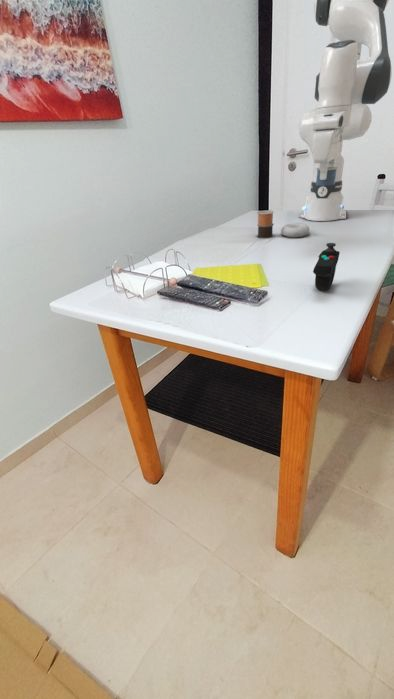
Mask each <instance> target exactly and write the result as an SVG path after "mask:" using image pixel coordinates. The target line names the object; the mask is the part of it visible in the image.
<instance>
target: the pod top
mask: <svg viewBox="0 0 394 699" xmlns="http://www.w3.org/2000/svg"><path fill="white" fill-rule="evenodd" d="M337 169H338V167H328V171H327V172H328V175H327V179H325V180H320V168H317V169H316V170H317V179H316V185H318V186H328V185H334V184H335V178H336V170H337Z"/></svg>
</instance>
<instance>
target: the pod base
mask: <svg viewBox="0 0 394 699" xmlns="http://www.w3.org/2000/svg"><path fill="white" fill-rule="evenodd" d="M274 224H275V223H273V222H272V225H269V226H260V225H258V224H257V237H258V238H260V239H268V238H272V237H273V229H274V228H273V226H274Z"/></svg>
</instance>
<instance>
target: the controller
mask: <svg viewBox="0 0 394 699" xmlns="http://www.w3.org/2000/svg"><path fill="white" fill-rule="evenodd" d="M325 246H326V247H327V248H326V249H324V250H322V251H321V252H320V254H319V255H318V259H317V261H316V263H315V265H314V268H313V270H312V273H313V274H314V275H315V277H314V283H315V284H314V286H315V288H316V289H317V290H318V291H330V290H331V289H332V286H333V284H334V283H333V282H334V278H335V275H336V270H337V265H338V261H339V257H340V253H341V252H340V251H338V250H336V249H335V248H334V247H336V246H337V244H336V243H335V242H327V243H326V244H325Z"/></svg>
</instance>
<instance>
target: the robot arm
mask: <svg viewBox="0 0 394 699" xmlns="http://www.w3.org/2000/svg"><path fill="white" fill-rule="evenodd" d="M389 2H390V0H314V3H313V14H314V19H315V22H316V23H317V26H320V27H329V31H330V33H331V34H330V39H329V43H328V44H327V45H326V46H325V48H324V50H323V55H322V59H321V65H320V70H319V73H318V74H316V76H315V88H314V99H315V100H316V102H317V104H316V106H315V107H316V108H314V109H311V110H309V111H306V112H304V114H303V115H302V117H301V118H300V121H299V125H298V133H299V136H300V139H301V140H302V141H303V142H305V144H306V145H308V147H309V149H310V152H311V154H312V160H313V171H312V172H313V173H312V181H311V183H310V193H309V194H308V195H307V196H306V198H305V205H304V206H302V208H301V209H302V211H303V210H304V211H303V213H301V214H300V216H299V217H300V218H302V219H306V220H308V221H315V222H328V221H329V222H330V221H331V222H332V221H337V220H344V219H347V210H346V209H345V205H343V202H344V195H343V194H342V190H343V180H342V178H343V172H344V166H345V165H344V164H345V160H344V157H343V155H342V151H343V142H344V141H351V140H353V139H354V140H355V139H359V138H361V137H363V136H365V134H366V133H367V132H368V130H369V128H370V126H371V124H372V119H373V118H372V117H373V116H372V111H371V109H370V107H369V105H375V104H376V103H378V102H379V101H380V100H381V99H382V98H383V97H385V96H386V94H387V93H388V91H389V88H390V86H391V82H392V76H393V69H392V63H391V58H390V55H389V54H390V53H389V46H388V35H387V26H386V18H385V13H384V11H385V10H386V8H387V6H388V4H389ZM363 45H364V46H366V47H367V48H368V56H369V57H367V58H362V59H361V55H362V47H363ZM328 167H338V169H337V170H336V178H335V184H334V185H328V186H318V185H316V179H317V170H316V169H317V168H320V180H325V179H327V175H328V172H327V171H328Z"/></svg>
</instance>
